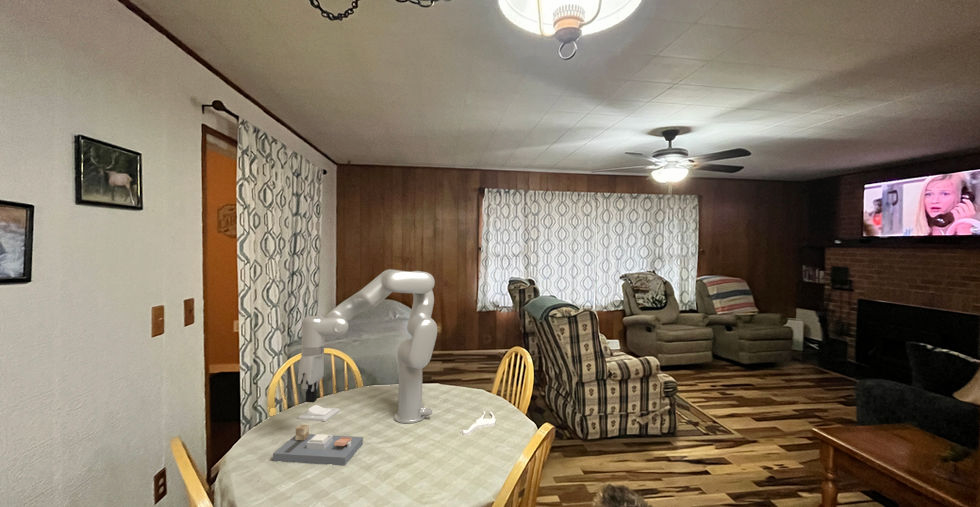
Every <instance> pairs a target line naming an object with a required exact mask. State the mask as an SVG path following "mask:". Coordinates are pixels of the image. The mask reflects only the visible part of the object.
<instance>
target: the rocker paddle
mask: <svg viewBox="0 0 980 507" xmlns="http://www.w3.org/2000/svg"><path fill="white" fill-rule="evenodd" d="M351 440H352V438H351V437H341V439H339V440H337V441H336V442H335V443H334V445H337V446H344V445H347V443H348V442H349V441H351Z"/></svg>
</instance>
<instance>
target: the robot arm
mask: <svg viewBox="0 0 980 507" xmlns="http://www.w3.org/2000/svg"><path fill="white" fill-rule="evenodd" d="M435 281H436V280H435V278H434V276H433V275H432V274H431V273H429V272H427V271H421V270H413V271H409V270H408V271H407V270H398V269H386V270H384V271H382V272H381V273H380V274H378V275H377V276H376V277H374V279H373V280H371V281H370V282H369V283H368V284H367V285H365V286H364V287H363V288H362V289H360V290H359V291H357V292H356V293H354V294H352V295H351V296H349V297H348V298H347V299H345V300H343V301H342V302H341V303H339V304H338V305H337V306H336V307H334V308H333V309H332V310H331V311H330V312H328V313H327V314H326V315H325V317H324V316H321V315H310V316H309V315H308V316H305V317H304V318H303V319H302V324H301V325H302V326H301V329H302V331H301V351H300V352H301V355H300V360H299V366H298V372H297V373H298V374H297V384H298V385H301V389H302V390H304V391H305V402H306V403H315V402H316V401H317V400H318V397H317V396H318V389H319V388H318V387H319V383H320V381H322V379H323V377H324V372H325V361H324V359H325V357H324V355H325V340H326V339H325V337H332V338H333V337H335V338H336V337H337V338H338V337H342V336H343V335H345V334H346V333H347V332H348V330H349V321H350V320H352V319H353V318H354V317H355V316H357V315H359V314H361V313H363V312H367V311H370V310H372V309H374V308H376V307H377V306H378V305H379V304H380V303H382V301H384V300H385V299H386V298H387V297H389V295H391V294H392V293H397V294H398V293H400V294H412V295H413V296H412V297H413V299H412V300H413V301H412V307H411V311H410V314H409V318H408V320H407V324H406V325H407V326H406V330H407V332H408V334H409V335H410V336H412V339H411V338H410V339H405V340H403V341H402V342H401V343H400V344H399V346H398V348H397V363H398V365H397V366H398V395H397V396H398V401H397V402H398V405H397V406H398V407H397V409H398V411H396V412H395V413H394V415H393V416H394V417H393V418H394V420H395V421H396V422H397V423H401V424H414V423H418V422H421V421H423V420H424V419H425V418H426V416H432V415H433V410H432V409H431V407H425V404H424V403H423V369H425V367H426V366H428V364H429V363H430V361H431V359H432V356H433V351H434V348H435V345H436V341H437V336H438V325H437V323H436V321H435V320H434V319H433V318H432V313H433V309H434V304H435V296H434V295H435V294H434V291H433V289H434V287H435V283H436V282H435Z"/></svg>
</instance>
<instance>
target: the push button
mask: <svg viewBox="0 0 980 507" xmlns="http://www.w3.org/2000/svg"><path fill="white" fill-rule="evenodd" d="M316 434H317V435H316V436H315V437H314V438H313V439H311V442H319V443H324V442H325V441H326V440H327V439H328V438H329V435H330V434H321V433H316Z"/></svg>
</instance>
